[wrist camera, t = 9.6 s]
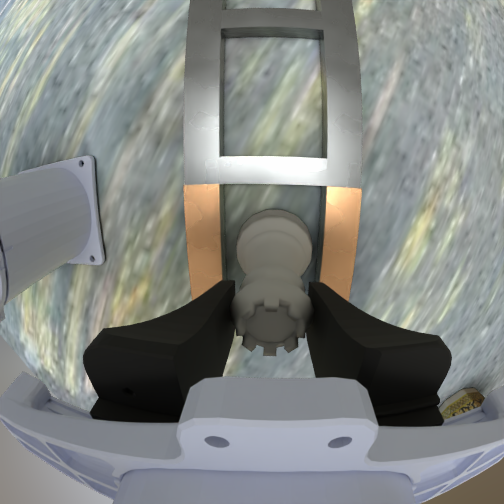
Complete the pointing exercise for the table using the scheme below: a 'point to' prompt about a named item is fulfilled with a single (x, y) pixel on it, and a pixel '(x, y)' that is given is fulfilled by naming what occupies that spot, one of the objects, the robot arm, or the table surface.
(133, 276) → the table surface
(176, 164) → the table surface
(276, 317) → the rook chess piece
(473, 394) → the ceramic cup
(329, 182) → the hole rail
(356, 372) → the robot arm
